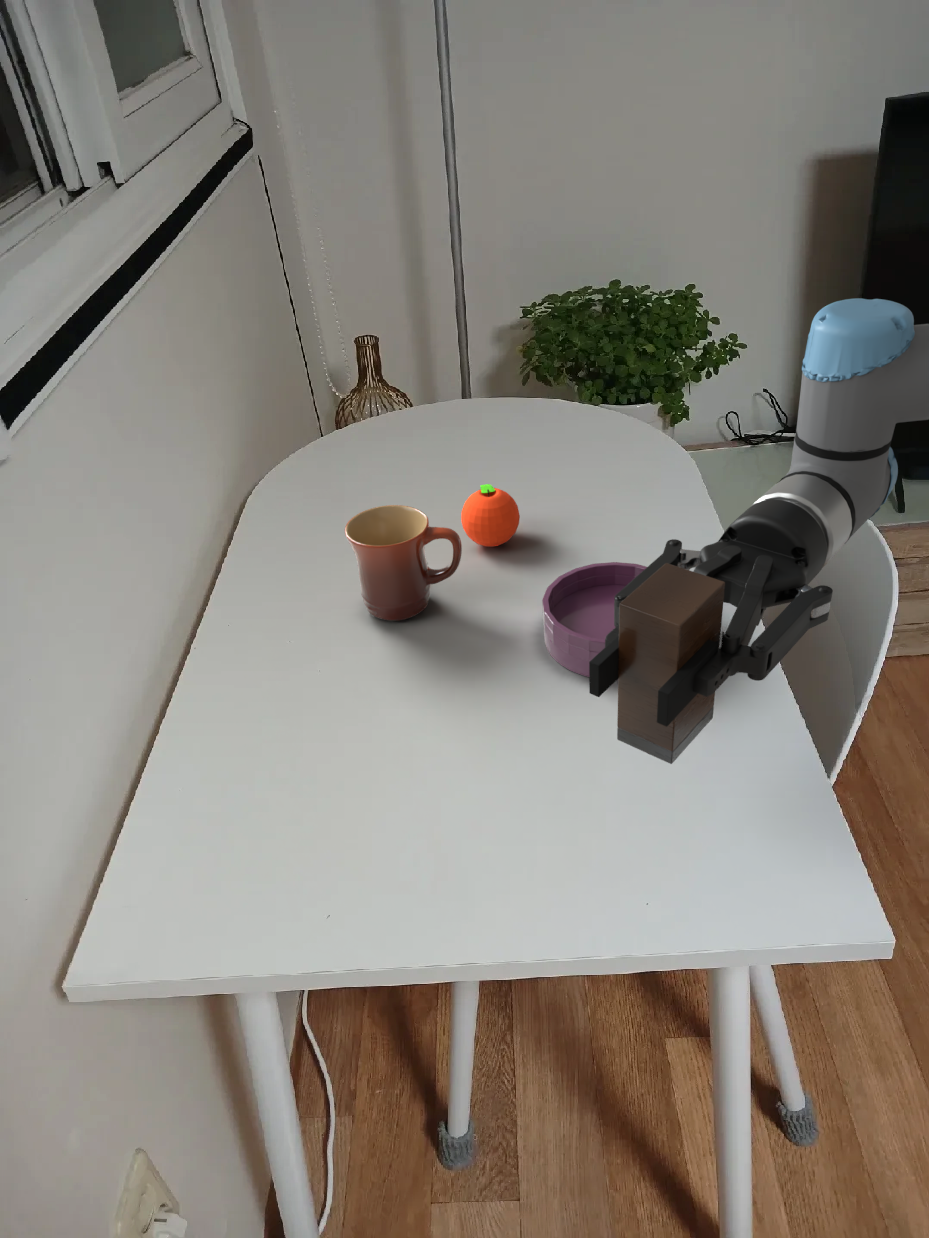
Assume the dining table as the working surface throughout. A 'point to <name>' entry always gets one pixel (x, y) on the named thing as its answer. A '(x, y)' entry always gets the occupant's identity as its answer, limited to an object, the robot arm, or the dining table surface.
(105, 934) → the dining table surface
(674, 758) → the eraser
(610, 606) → the bowl
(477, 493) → the clementine
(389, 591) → the mug
